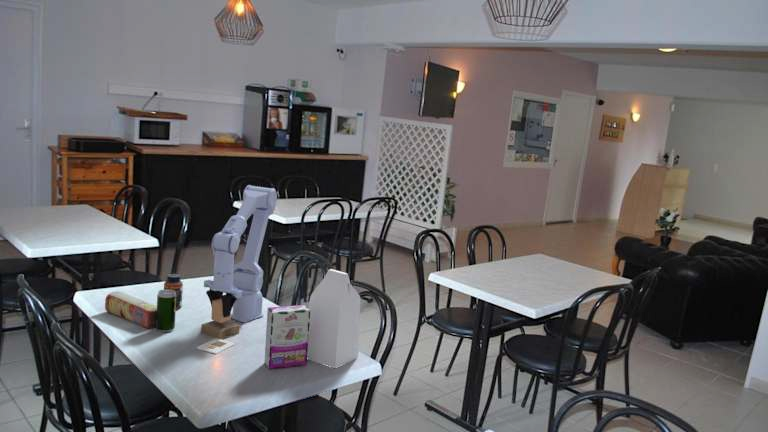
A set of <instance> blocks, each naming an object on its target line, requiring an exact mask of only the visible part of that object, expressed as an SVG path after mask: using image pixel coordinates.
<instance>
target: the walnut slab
mask: <svg viewBox="0 0 768 432" xmlns="http://www.w3.org/2000/svg"><path fill="white" fill-rule="evenodd" d="M200 330H201V331H200V333H201V334H204V335H206V336H208V337H212V339H215V338H218V339H222V340H224V339H226V338H229V337H231V336H235V335H238V334H240V324H238V323H235V322H232V321H231V320H228V321H225V322H222V323H219V322H217V321H214V320H211V321H207V322H205V323H202V324H201V328H200Z"/></svg>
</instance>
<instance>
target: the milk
mask: <svg viewBox="0 0 768 432" xmlns="http://www.w3.org/2000/svg"><path fill="white" fill-rule="evenodd" d="M350 281H351V280H350V277H349V274H348V273H347V272H343V271H340V270H336V269H333V268H330V269H328V270H327V272H326V273H325V276H324V278H323V279H322V280H321V281H320V283H318V285H317V286H316V288H315V289H314V290H313V292H312V293H311V295H310V297H309V303H308V308H309V309H310V325H309V338H308V352H307V358H308V359H307V360H309V359H310V360H309V361H311V360H313V361H312V362H314V361H316V362H315V363H317V362H319V363H322V364H325V365H328V366H331V367H333V368H336V367H338V366H340V365H342V364H344V363H346V364H348V363H350V362H352V361H353V359H354V360H356V359H358V358H359V343H360V342H359V341H360V320H361V295H360V293H358V291H357V290H356V289H355V287H354V286H353V285H352V284H351V282H350ZM357 357H358V358H357ZM355 358H356V359H355ZM351 360H352V361H351ZM349 361H350V362H349ZM347 362H348V363H347ZM319 363H318V364H319ZM322 364H321V365H322ZM325 365H324V366H325ZM344 365H345V364H344ZM342 366H343V365H342ZM333 368H332V369H333Z"/></svg>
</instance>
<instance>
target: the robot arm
mask: <svg viewBox="0 0 768 432" xmlns="http://www.w3.org/2000/svg"><path fill="white" fill-rule="evenodd" d="M277 201H278V194H277V191H276V189H275V188H273V187H270V188H269V187H263V186H258V185H257V186H255V185H251V184H248V185H246V187H245V188H244V189H243V193H242V203H241V206H240V207H239V209H238V211H237V213H236V214H235V215H231V216H230V218H229V219H228V221H227V222H226V224H225V225H224V227H223V228H222V230H221V231H219V232H217V233H215V234H214V236H213V237H212V241H211V249H212V255H213V257H214V264H213V266H214V267H213V280H211V279H206V280H203V287H204V288H209V289H208V290H207V291H206V292H205V293H206V296H207V297H208V299H209V301H210V305H211V307H212V301H213V300H217V299H220V298H221V300H222V305H223V317H228V316H230V313H231V317H230V319H231V320H232V319H233V320H236V321H239V322H241V323H247V322H249V321H252V320H256V319H259V318H262V317H264V314H263V313H262V312H263V311H262V310H263V299H264V298H263V294H262V292H261V289H262V287H263V283H264V278H263V277H264V270H263V269H262V267H261V266H260V265H259V264H258V261H259V258H260V253H261V250H262V247H263V241H264V238H265V235H266V234H265V233H266V230H267V225H268V223H269V218H270V216H271V215H274V213H275V209H276V205H277ZM252 215H253V218H252V221H251V225H250V229H249V233H248V236H247V241H246V245H245V247H244V248H245V249H244V253H243V257H242V260H241V261H240V262H237V263H235V255H236V254H235V253H236V252H238V248H239V246H240V242H241V237H242V235H243V234H244V233H245V231H246V228H247V227H248V224H247V221H248V219H249V218H250V217H251V216H252ZM224 293H225V294H224Z"/></svg>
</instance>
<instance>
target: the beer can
mask: <svg viewBox="0 0 768 432" xmlns="http://www.w3.org/2000/svg"><path fill="white" fill-rule="evenodd" d="M156 297H157V298H156V306H157V316H156V327H155V328H156V330H157V332H159V333H170V332H172V331H174V329H175V326H176V311H177V310H176V292H175V291H174V290H170V289H164V288H163V289H160V290H158V292H157V296H156Z"/></svg>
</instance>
